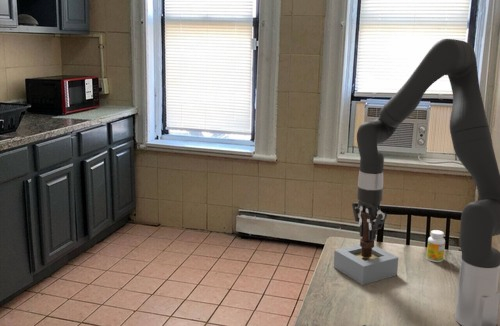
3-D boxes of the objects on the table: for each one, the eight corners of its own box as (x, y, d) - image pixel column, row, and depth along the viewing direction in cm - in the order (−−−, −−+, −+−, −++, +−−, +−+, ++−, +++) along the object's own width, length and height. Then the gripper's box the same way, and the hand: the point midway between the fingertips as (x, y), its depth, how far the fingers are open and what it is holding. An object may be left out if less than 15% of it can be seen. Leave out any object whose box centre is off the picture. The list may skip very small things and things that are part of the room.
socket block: (397, 275, 165) (398, 257, 164) (362, 284, 158) (363, 266, 157) (367, 258, 177) (368, 242, 175) (333, 267, 170) (334, 250, 169)
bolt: (374, 260, 163) (377, 215, 160) (358, 259, 164) (360, 213, 161) (374, 253, 169) (377, 209, 165) (358, 252, 170) (360, 207, 166)
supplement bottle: (422, 257, 178) (425, 230, 176) (435, 254, 180) (437, 228, 178) (434, 263, 174) (437, 236, 171) (446, 260, 176) (449, 233, 173)
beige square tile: (382, 264, 166) (382, 259, 165) (364, 268, 162) (364, 264, 162) (366, 255, 172) (366, 251, 171) (348, 260, 168) (349, 255, 168)
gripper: (396, 189, 157) (392, 243, 161) (364, 178, 169) (361, 229, 173) (376, 193, 153) (373, 248, 157) (346, 181, 165) (343, 233, 169)
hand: (367, 238), depth 165 cm, fingers closed on bolt, 3 cm apart
